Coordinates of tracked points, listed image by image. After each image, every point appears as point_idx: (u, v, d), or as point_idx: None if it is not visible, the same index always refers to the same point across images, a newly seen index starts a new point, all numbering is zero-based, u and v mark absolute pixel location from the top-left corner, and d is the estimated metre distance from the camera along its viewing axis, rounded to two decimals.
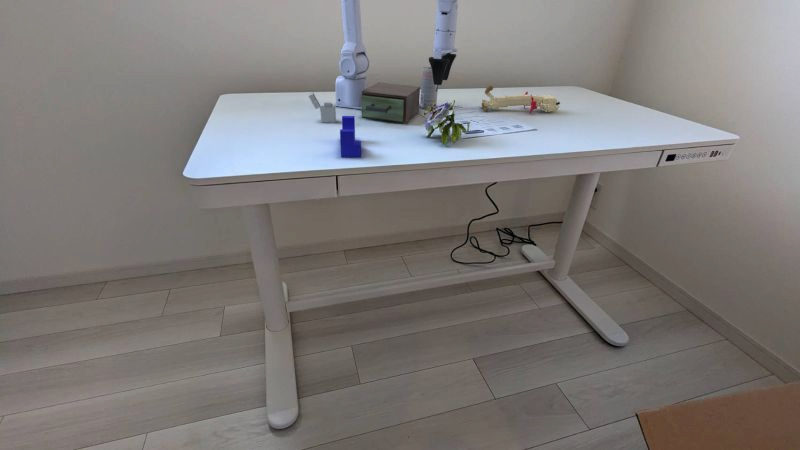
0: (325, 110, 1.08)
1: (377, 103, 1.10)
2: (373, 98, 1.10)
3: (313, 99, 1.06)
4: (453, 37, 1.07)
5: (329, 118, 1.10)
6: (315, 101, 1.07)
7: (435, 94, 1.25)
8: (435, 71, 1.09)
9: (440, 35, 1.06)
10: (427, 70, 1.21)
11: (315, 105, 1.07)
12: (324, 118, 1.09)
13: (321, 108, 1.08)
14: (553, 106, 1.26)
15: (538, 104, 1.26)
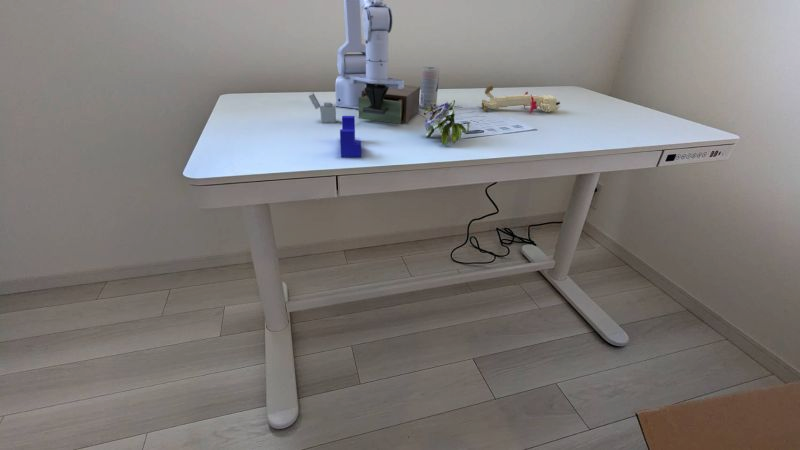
0: (325, 110, 1.08)
1: None
2: None
3: (313, 99, 1.06)
4: (369, 67, 0.99)
5: (329, 118, 1.10)
6: (315, 101, 1.07)
7: (435, 94, 1.25)
8: None
9: None
10: (427, 70, 1.21)
11: (315, 105, 1.07)
12: (324, 118, 1.09)
13: (321, 108, 1.08)
14: (553, 106, 1.26)
15: (538, 104, 1.26)
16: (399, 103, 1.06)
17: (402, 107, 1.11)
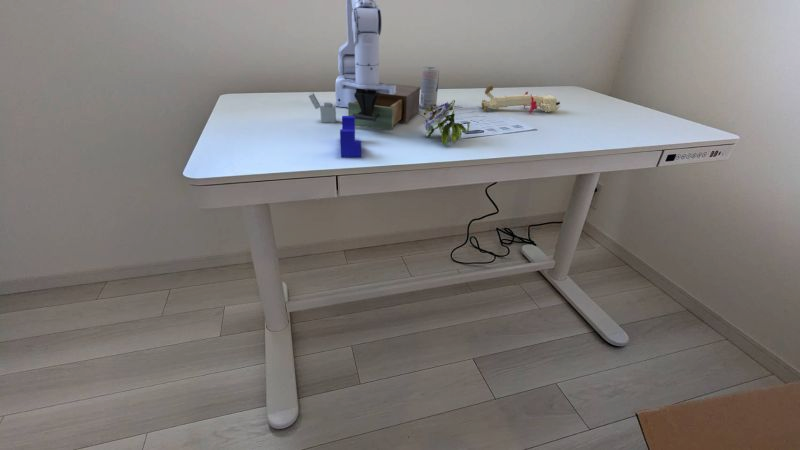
0: (325, 110, 1.08)
1: None
2: None
3: (313, 99, 1.06)
4: (359, 71, 0.94)
5: (329, 118, 1.10)
6: (315, 101, 1.07)
7: (435, 94, 1.25)
8: None
9: None
10: (427, 70, 1.21)
11: (315, 105, 1.07)
12: (324, 118, 1.09)
13: (321, 108, 1.08)
14: (553, 106, 1.26)
15: (538, 104, 1.26)
16: (391, 109, 1.01)
17: (394, 113, 1.05)
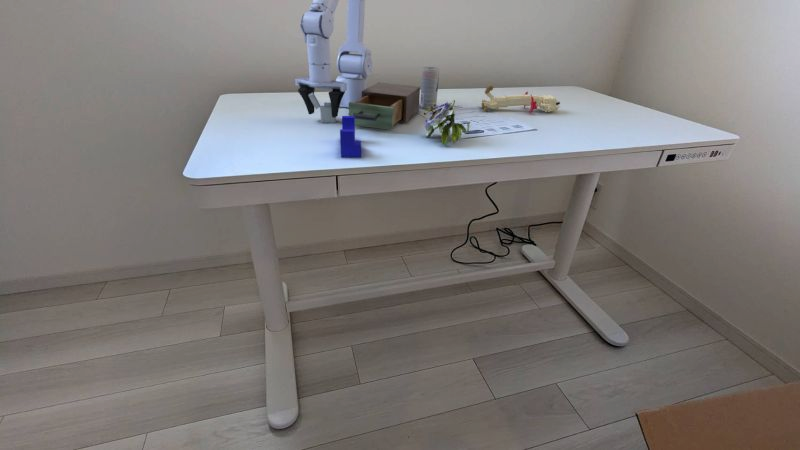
0: (325, 110, 1.08)
1: (365, 110, 1.03)
2: (361, 105, 1.03)
3: (313, 99, 1.06)
4: (311, 70, 1.02)
5: (329, 118, 1.10)
6: (315, 101, 1.07)
7: (435, 94, 1.25)
8: None
9: None
10: (427, 70, 1.21)
11: (315, 105, 1.07)
12: (324, 118, 1.09)
13: (321, 108, 1.08)
14: (553, 106, 1.26)
15: (538, 104, 1.26)
16: (391, 109, 1.01)
17: (395, 113, 1.05)
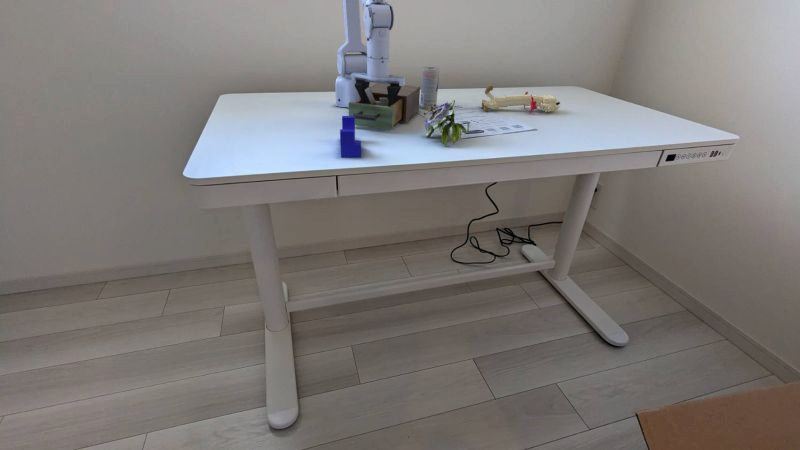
0: (381, 105, 1.07)
1: (365, 110, 1.03)
2: (361, 105, 1.03)
3: (369, 94, 1.05)
4: (371, 64, 1.00)
5: None
6: (371, 96, 1.05)
7: (435, 94, 1.25)
8: None
9: None
10: (427, 70, 1.21)
11: (371, 100, 1.06)
12: None
13: (377, 103, 1.06)
14: (553, 106, 1.26)
15: (538, 104, 1.26)
16: (391, 109, 1.01)
17: (395, 113, 1.05)
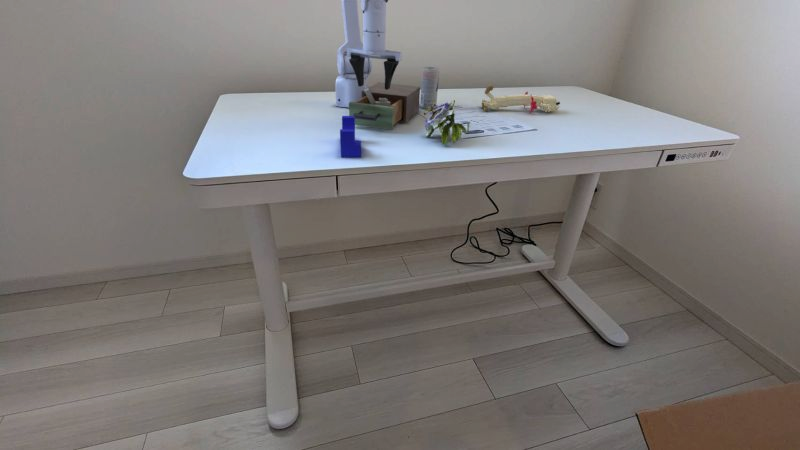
0: None
1: (366, 110, 1.03)
2: (361, 105, 1.03)
3: (369, 94, 1.05)
4: (366, 38, 0.97)
5: None
6: (371, 96, 1.05)
7: (435, 94, 1.25)
8: None
9: None
10: (427, 70, 1.21)
11: (370, 100, 1.06)
12: None
13: (376, 104, 1.06)
14: (553, 106, 1.26)
15: (538, 104, 1.26)
16: (391, 109, 1.01)
17: (395, 113, 1.06)
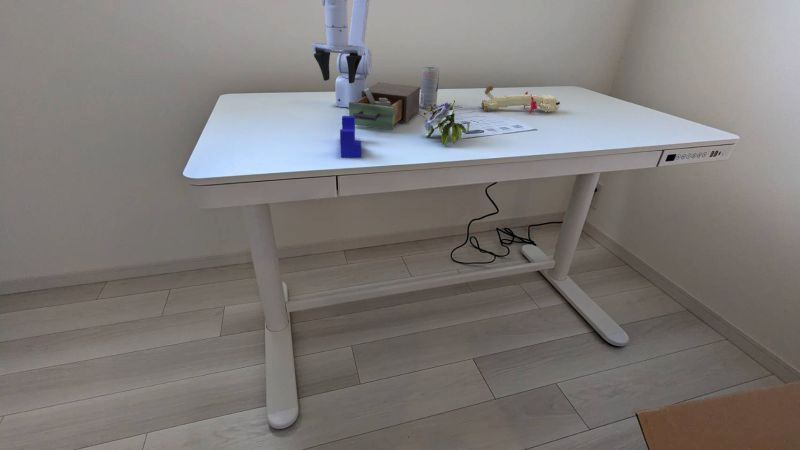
0: None
1: (366, 110, 1.03)
2: (361, 105, 1.03)
3: (369, 94, 1.05)
4: (329, 33, 1.00)
5: None
6: (371, 96, 1.05)
7: (435, 94, 1.25)
8: None
9: None
10: (427, 70, 1.21)
11: (370, 100, 1.06)
12: None
13: (376, 104, 1.06)
14: (553, 106, 1.26)
15: (538, 104, 1.26)
16: (391, 109, 1.01)
17: (395, 113, 1.06)
